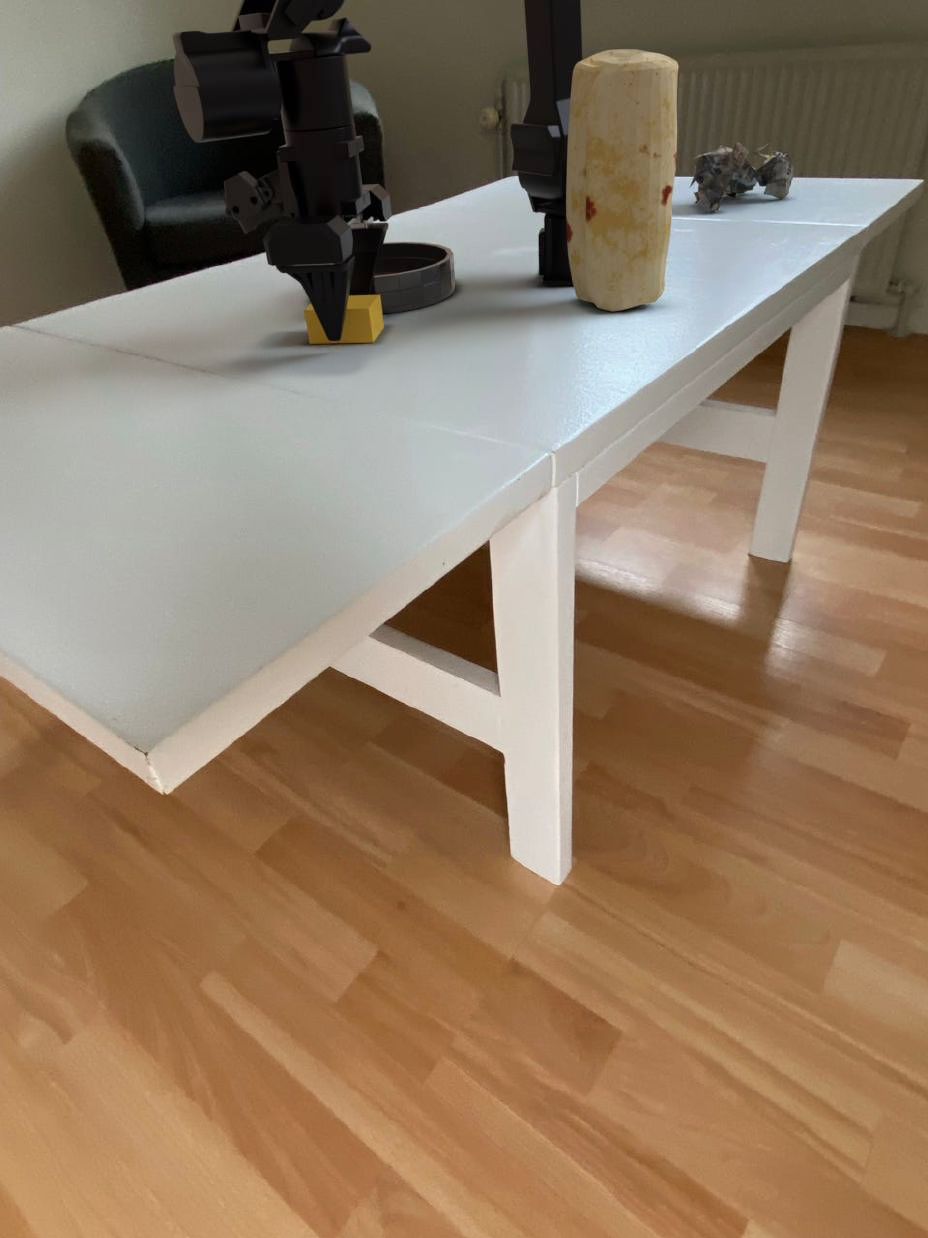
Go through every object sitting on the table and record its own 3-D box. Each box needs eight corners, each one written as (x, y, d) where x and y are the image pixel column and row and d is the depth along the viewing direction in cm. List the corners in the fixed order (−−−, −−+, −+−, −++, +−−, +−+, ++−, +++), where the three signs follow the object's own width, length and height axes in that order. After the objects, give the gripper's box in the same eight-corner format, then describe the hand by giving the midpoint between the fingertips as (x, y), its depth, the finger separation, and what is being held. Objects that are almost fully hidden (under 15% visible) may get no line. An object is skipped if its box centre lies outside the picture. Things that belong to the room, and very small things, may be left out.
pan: (464, 272, 91) (462, 239, 89) (442, 313, 79) (439, 275, 77) (334, 277, 93) (329, 244, 91) (293, 316, 81) (286, 280, 79)
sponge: (384, 327, 76) (380, 294, 75) (373, 342, 73) (369, 308, 71) (323, 328, 77) (317, 296, 76) (309, 343, 74) (303, 309, 72)
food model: (672, 297, 78) (693, 43, 66) (653, 317, 74) (672, 48, 62) (576, 291, 82) (580, 50, 70) (552, 310, 77) (552, 55, 66)
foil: (822, 176, 106) (735, 111, 101) (765, 253, 112) (681, 195, 106) (789, 160, 115) (708, 99, 110) (738, 232, 121) (659, 177, 115)
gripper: (263, 120, 74) (295, 298, 83) (176, 148, 59) (227, 360, 68) (382, 112, 72) (401, 295, 81) (323, 139, 57) (355, 358, 67)
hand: (348, 324), depth 75 cm, fingers open, 9 cm apart
